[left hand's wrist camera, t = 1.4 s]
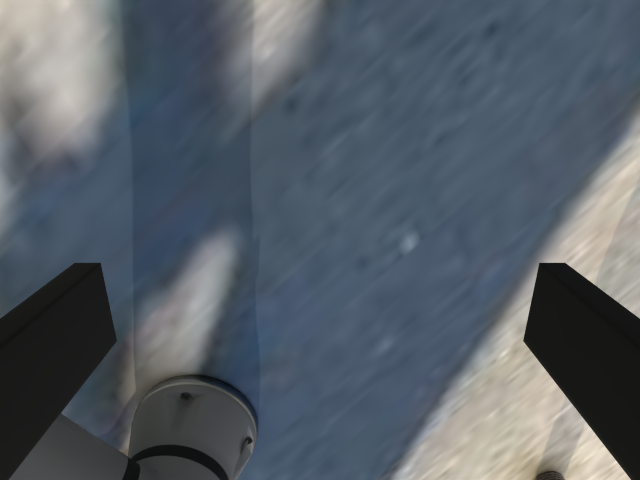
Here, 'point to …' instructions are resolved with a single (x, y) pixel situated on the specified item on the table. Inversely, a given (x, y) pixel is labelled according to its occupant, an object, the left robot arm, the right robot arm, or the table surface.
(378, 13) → the table surface
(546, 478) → the light bulb
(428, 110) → the table surface
